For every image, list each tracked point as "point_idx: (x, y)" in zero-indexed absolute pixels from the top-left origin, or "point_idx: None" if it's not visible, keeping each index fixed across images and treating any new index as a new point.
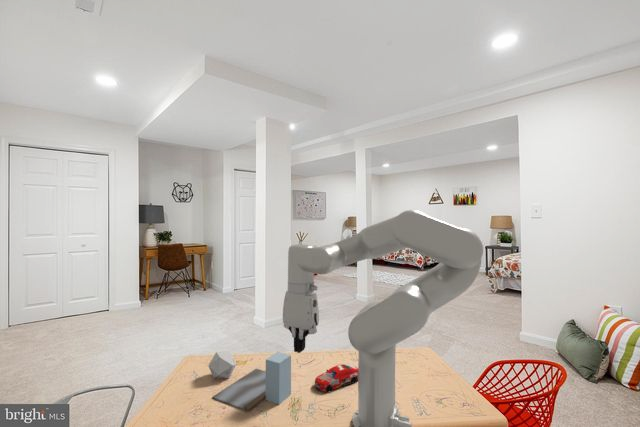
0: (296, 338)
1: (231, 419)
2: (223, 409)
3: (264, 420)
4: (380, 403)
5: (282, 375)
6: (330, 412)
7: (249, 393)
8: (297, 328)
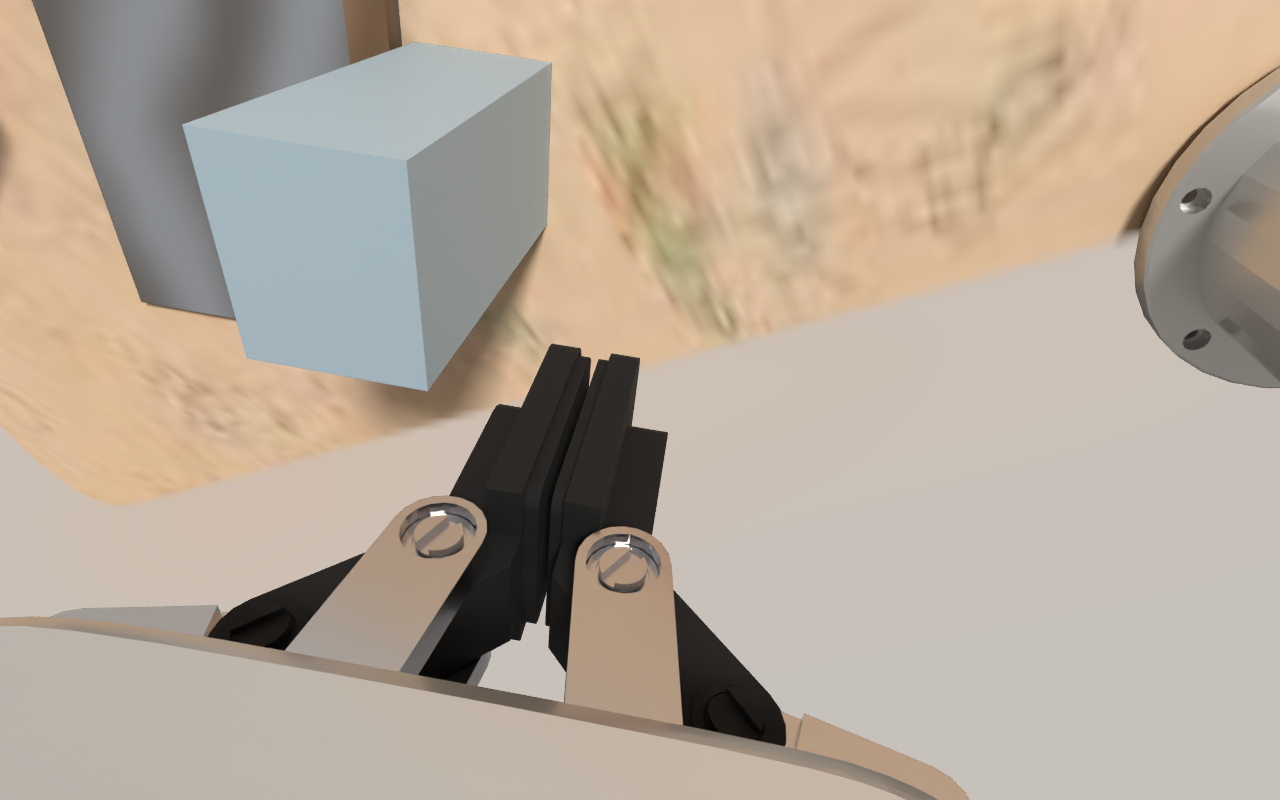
0: (521, 625)
1: (400, 418)
2: None
3: None
4: None
5: (481, 271)
6: (946, 187)
7: None
8: (382, 640)
